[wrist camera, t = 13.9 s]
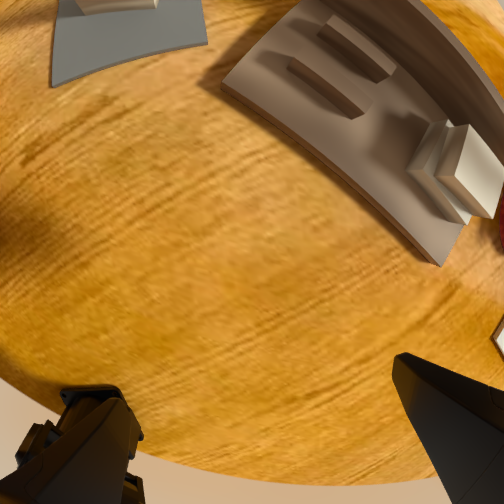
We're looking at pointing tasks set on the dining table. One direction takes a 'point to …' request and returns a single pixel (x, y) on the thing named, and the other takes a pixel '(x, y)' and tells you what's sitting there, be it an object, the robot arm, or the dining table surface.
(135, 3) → the birch board
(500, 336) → the baseboard molding
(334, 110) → the grey desk organizer
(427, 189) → the offcut stack
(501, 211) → the canned food
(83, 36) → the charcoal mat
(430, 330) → the dining table surface
